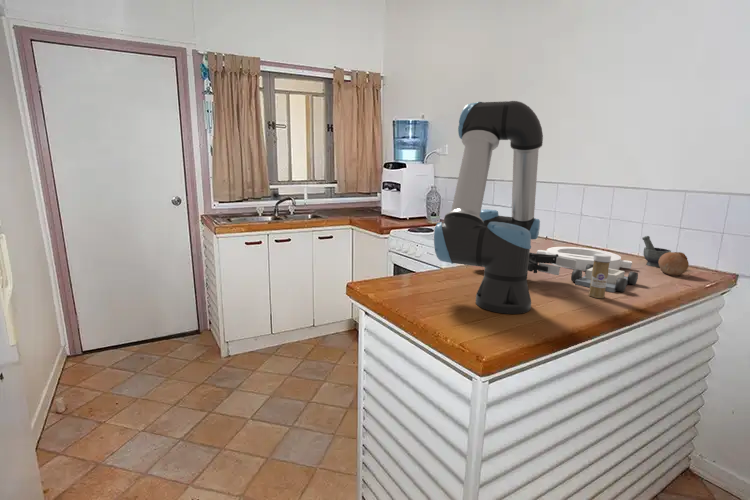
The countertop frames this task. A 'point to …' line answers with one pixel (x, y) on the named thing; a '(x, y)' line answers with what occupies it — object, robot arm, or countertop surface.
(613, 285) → the toy chassis
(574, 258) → the white circle with bar
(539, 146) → the robot arm
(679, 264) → the brown round lump
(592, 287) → the spice jar
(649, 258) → the mortar and pestle
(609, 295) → the countertop surface
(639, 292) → the countertop surface
